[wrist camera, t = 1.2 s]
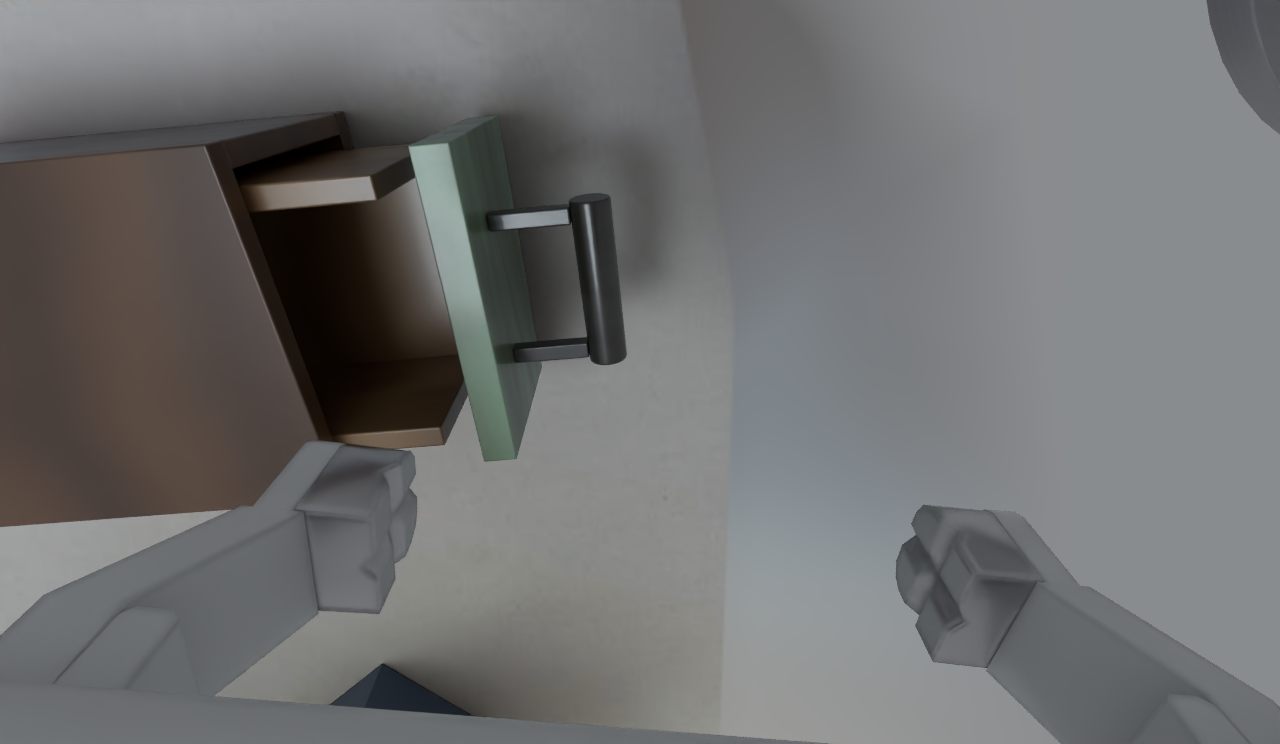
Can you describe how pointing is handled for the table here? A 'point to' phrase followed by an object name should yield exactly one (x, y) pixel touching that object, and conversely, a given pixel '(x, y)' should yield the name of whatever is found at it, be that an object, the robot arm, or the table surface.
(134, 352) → the cabinet
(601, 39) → the table surface
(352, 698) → the stand
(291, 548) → the robot arm
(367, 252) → the drawer
